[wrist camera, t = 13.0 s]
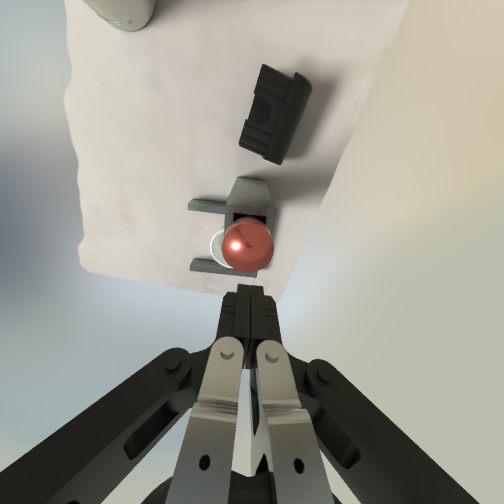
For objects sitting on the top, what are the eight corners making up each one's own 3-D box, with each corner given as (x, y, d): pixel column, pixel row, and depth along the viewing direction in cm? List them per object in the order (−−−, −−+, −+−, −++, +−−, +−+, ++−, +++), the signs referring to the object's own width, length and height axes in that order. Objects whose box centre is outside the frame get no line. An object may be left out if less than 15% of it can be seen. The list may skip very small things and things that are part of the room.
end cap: (278, 163, 34) (283, 167, 28) (239, 147, 32) (237, 147, 27) (305, 95, 29) (319, 83, 23) (262, 73, 28) (264, 54, 22)
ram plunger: (233, 192, 25) (223, 222, 15) (267, 197, 25) (278, 229, 15) (231, 224, 27) (219, 269, 17) (262, 228, 27) (268, 274, 17)
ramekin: (211, 253, 42) (207, 264, 39) (216, 215, 38) (213, 223, 34) (251, 261, 43) (251, 272, 40) (260, 224, 39) (261, 233, 35)
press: (192, 170, 34) (141, 192, 18) (271, 181, 35) (288, 211, 19) (193, 263, 43) (160, 330, 28) (256, 269, 44) (259, 338, 29)
